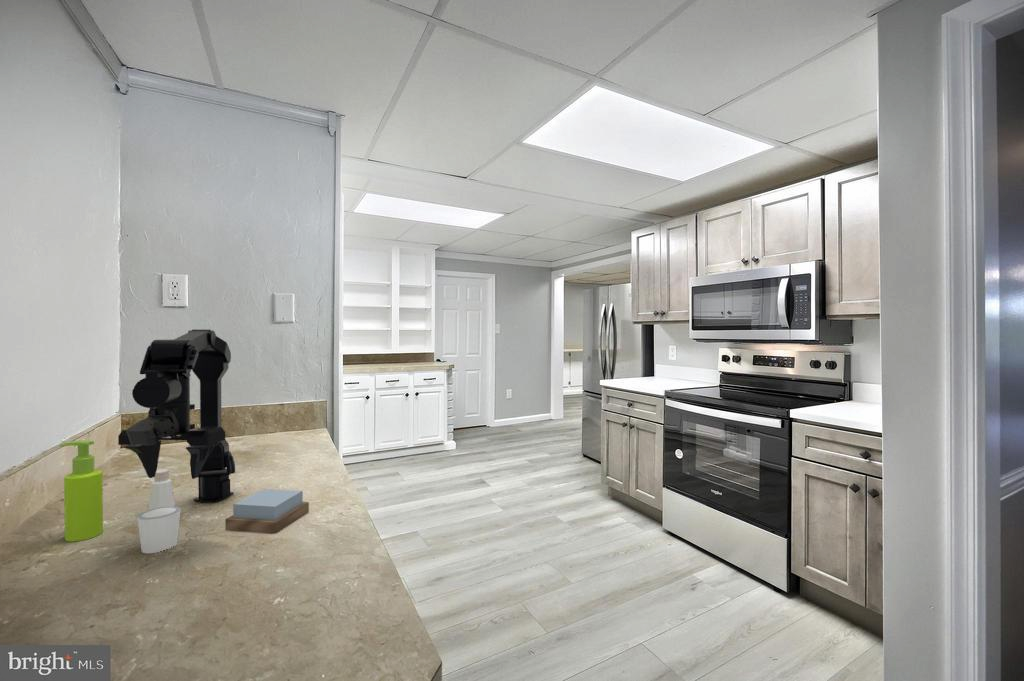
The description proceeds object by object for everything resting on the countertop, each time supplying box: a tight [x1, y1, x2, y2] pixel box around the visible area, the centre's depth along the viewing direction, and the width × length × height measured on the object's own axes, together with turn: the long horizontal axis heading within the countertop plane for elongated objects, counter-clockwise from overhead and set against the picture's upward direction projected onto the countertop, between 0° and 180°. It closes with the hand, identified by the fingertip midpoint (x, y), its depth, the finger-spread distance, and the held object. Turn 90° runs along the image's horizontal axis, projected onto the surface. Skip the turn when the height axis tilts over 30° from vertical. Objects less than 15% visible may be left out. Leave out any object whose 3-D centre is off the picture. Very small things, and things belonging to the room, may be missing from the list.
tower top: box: [232, 488, 304, 520], centre depth 104 cm, size 10×10×3 cm
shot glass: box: [136, 505, 181, 554], centre depth 91 cm, size 7×7×7 cm
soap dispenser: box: [58, 440, 104, 543], centre depth 96 cm, size 6×7×20 cm
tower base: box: [224, 501, 310, 534], centre depth 104 cm, size 12×12×3 cm
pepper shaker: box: [147, 468, 176, 511], centre depth 106 cm, size 5×5×11 cm
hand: (173, 477), depth 93 cm, fingers open, 9 cm apart
